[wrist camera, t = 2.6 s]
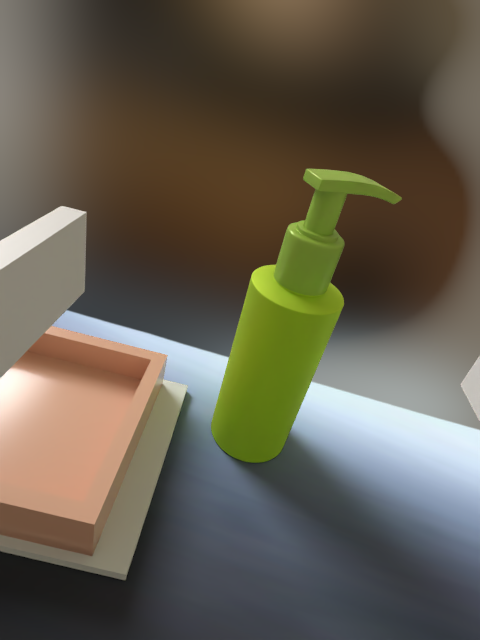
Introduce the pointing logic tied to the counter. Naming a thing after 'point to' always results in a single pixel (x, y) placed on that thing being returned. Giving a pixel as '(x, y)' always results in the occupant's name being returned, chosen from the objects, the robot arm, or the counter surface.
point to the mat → (121, 498)
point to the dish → (71, 435)
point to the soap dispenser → (286, 325)
